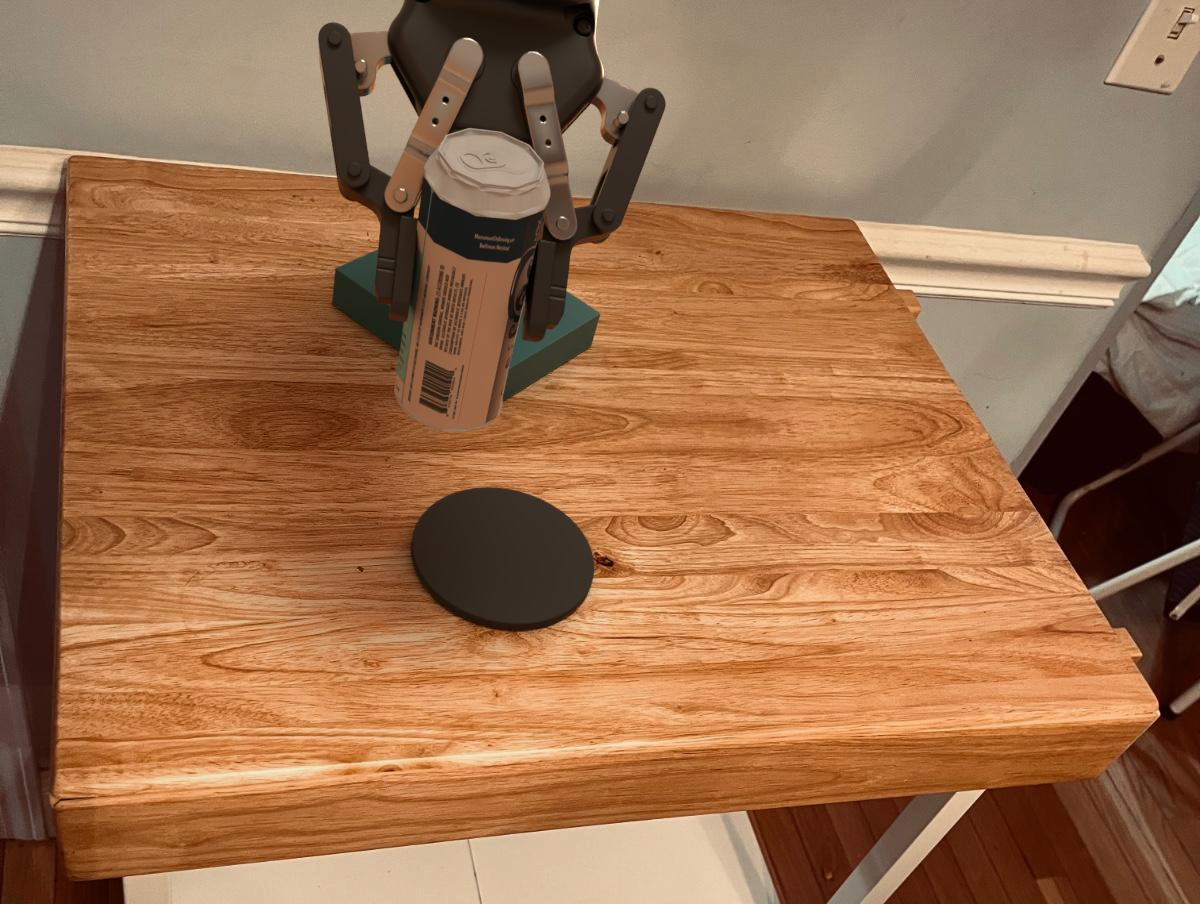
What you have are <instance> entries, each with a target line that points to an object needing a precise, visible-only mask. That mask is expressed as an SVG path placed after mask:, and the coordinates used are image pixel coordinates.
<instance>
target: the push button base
mask: <svg viewBox="0 0 1200 904" xmlns="http://www.w3.org/2000/svg"><path fill="white" fill-rule="evenodd" d="M377 256H378V248H377V249H375V250H373V251H371V252H368V253H367V254H364V255H362V256H360V257H357V258H354V259H353V260H351V261H348V262H346V263H344V264H342V265H339V266H337V267H335V269H334V279H333V289H332V290H333V291H332V299H331V301H332V302H331V304H332V305H333V306H334V307H335V308H337V309H338V310H340V311H341V312H343V313H344V314H345V315H347V316H348V317H350V318H351V319H353V320H354V321H355V322H357V323H358V324H360V325H361V326H363V328H365V329H367V330H368V331H370V332H371V333H372V334H374V335H375V336H377V337H378V338H379V339H381V341H384V342H385V343H386V344H388V345H389V346H391V347H392V348H394V349H395V350H396V351H398V352H399V353H400V346H401V339H402V331H403V324H404V322H402V321H395V320H389V312H390V304H383V303H378V302H377V298H376V294H375V291H374V285H375V275H376V265H377ZM524 303H525V299H524ZM523 312H524V304H523V308H522V312H521V317H520V321H519V326H518V330H517V335H516V339H515V344H514V348H513V352H512V357H511V361H510V366H509V370H508V375H507V379H506V384H505V388H504V392H503V402H505V401H507V400H508V399H509V398H512V397H513V396H514V395H516V394H518V393H519V392H521V391H522V390H525V389H526V388H528V387H529V386H530V385H532V384H533V383H535V382H537V381H538V380H540V379H542V378H543V377H545V376H546V375H548V374H549V373H551V372H552V371H555V370H556V369H558V368H559V367H560V366H563V365H564V364H566V363H567V362H568V361H570V360H572V359H574V358H575V357H576V356H578V355H579V354H581V353H583V352H585V351H586V350H588V349H589V348H591V347H592V345H593V342H594V338H595V335H596V331H597V328H598V324H599V322H600V318H601V312H599V311H598V310H596V309H595V308H593V307H592V306H590V305H589V304H587V303H586V302H584V300H581V299H579V298H578V297H576V296H575V295H574V294H572V293H571V292H569V291H566V298H565V309H564V314H563V316H562V318H561V320H560V322H559V324H558V325H557V326H556V327H555V328H553V329H552V330H550V329H546V333H545V336H544V338H543V339H542V340H541V341H540V342H532V341H525V340H521V331H522V321H523Z"/></svg>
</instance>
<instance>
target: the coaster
mask: <svg viewBox="0 0 1200 904" xmlns="http://www.w3.org/2000/svg"><path fill="white" fill-rule="evenodd" d="M410 555H411V563H412V567H413V569H414V572H415V574H416V576H417V578H418V580H419V582H420V583H421V585H422V586H423V588H424V589H425V591H427V593H428V594H429V595H430V596H431V597H432V598H433V599H434V600H435V601H436V602H437V603H438V604H439V605H441V606H442V607H443V608H445V609H446V610H448V611H449V612H451V613H452V614H454V615H456V616H458V617H460V618H462V619H464V620H466V621H468V622H471V623H473V624H477V625H480V626H482V627H487V628H492V629H495V630H503V631H505V630H506V631H527V630H528V631H529V630H536V629H540V628H545V627H548V626H552V625H554V624H558V622H560V621H562V620H564V619H566V618H568V617H569V616H570V615H572V614H573V613H574V612H575V611H576V610H577V609H579V608H580V607H581V606H582V604H583V602H584V601H585V600H586V599H587V596H588V594H589V592H590V590H591V587H592V585H593V581H594V577H595V566H596V565H595V558H594V553H593V550H592V547H591V545H590V543H589V541H588V539H587V537H586V536H585V534H584V532H583V530H581V528H580V527H579V526H578V525H577V523H575V521H574V520H572V518H571V517H570V516H569V515H567V513H565V512H563V511H562V510H561V509H559V508H557V507H556V506H555V505H553V504H552V503H549V502H548V501H546V500H544V499H542V498H541V497H540V498H539V497H537V496H535V495H532V494H530V493H527V492H523V491H521V490H520V491H519V490H515V489H512V488H511V489H510V488H503V487H492V486H490V487H488V486H484V487H474V488H473V487H472V488H467V489H463V490H459V491H456V492H452V493H450V494H447V495H446V496H443V497H442V498H439V499H438V500H436V501H435V502H434V503H432V504H431V505H430V506H429V507H428V508H427V509H426V510H425V511H424V512H423V513H422V514H421V516H420V517H419V519H418V520H417V522H416V524H415V527H414V529H413V533H412V538H411V545H410Z"/></svg>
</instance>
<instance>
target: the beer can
mask: <svg viewBox="0 0 1200 904" xmlns="http://www.w3.org/2000/svg"><path fill="white" fill-rule="evenodd" d="M549 198H550V187H549V183H548V179H547V176H546V172H545V169H544V162H543V161H542V160H541V158H540V157H539V156H538V155H537V154H536V152H535V151H534V150H533V149H532V148H531V146H530V145H528V144H526V143H524V142H522V141H520V140H518V139H515V138H513V137H511V136H509V135H507V134H505V133H502V132H498V131H490V130H481V129H473V128H468V129H464V130H461V131H458V132H454V133H451V134H448V135H445V138H444V140H443V141H442V142H441V143H440V145H439V146H438V148H437V149H436V150H435V151H434V153H433V154H432V155H431V156H430V157H429V158H428V160H427V162H426V164H425V166H424V178H423V186H422V193H421V199H420V201H419V208H418V214H417V215H418V216H417V218H418V222H417V241H416V250H415V260H414V269H413V279H412V288H411V298H410V307H409V314H408V319H407V321H406V322H404V324H403V331H402V339H401V346H400V352H399V355H398V360H397V367H396V375H395V376H396V377H395V382H394V390H393V391H394V396H395V399H396V401H397V403H398V405H399V406H400V408H401V409H402V410H403V411H404V412H405V413H406V414H407V415H408V417H410V418H411V419H413V420H414V421H417V422H419V423H421V424H422V425H424V426H426V427H428V428H431V429H434V430H436V431H442V432H450V433H457V434H458V433H471V432H474V431H477V430H480V429H484V428H486V427H487V426H489V425H490V424H492V423H494V422H495V421H496V420H497V418H498V417H499V415H500V414H501V411H502V409H503V405H504V401H503V392H504V388H505V384H506V379H507V375H508V370H509V366H510V361H511V357H512V352H513V348H514V344H515V339H516V335H517V330H518V326H519V321H520V317H521V312H522V308H523V304H524V299H525V294H526V290H527V286H528V281H529V277H530V272H531V268H532V263H533V259H534V254H535V250H536V246H537V241H538V237H539V233H540V228H541V224H542V219H543V215H544V210H545V207H546V205H547V203H548V201H549Z"/></svg>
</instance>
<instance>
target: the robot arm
mask: <svg viewBox="0 0 1200 904" xmlns="http://www.w3.org/2000/svg"><path fill="white" fill-rule="evenodd" d="M599 4H600V0H403V4H402V6H401V8H400V10H399V12H398V13H397V15H396V16H395V18H394V19H393V20H392V21H391V23H390V25H389V28H388V30H384V31H364V32H350V31H349V30H348V29H347V28H346V26H345V25H343V24H341V23H339V22H334V21H333V22H332V21H331V22H328V23H325V24H324V25H322V27H321V28H320V29H319V32H318V36H317V37H318V38H317V40H318V59H319V60H318V62H319V68H320V69H319V70H320V75H321V76H320V77H321V82H322V88H323V95H324V101H325V108H326V114H327V115H326V116H327V120H328V121H327V122H328V127H329V128H328V129H329V134H330V141H331V147H332V152H333V153H332V154H333V161H334V167H335V174H336V180H337V181H336V182H337V187H338V191H339V194H340V195H341V196H342V197H343V198H344V199H345V200H347V201H348V202H353V203H358V204H359V205H361V206H363V207H365V208H366V209H369V210H370V211H371V212H373V213H374V215H375V216H376V217H377V220H378V222H379V236H378V247H377V249H378V256H377V265H376V275H375V285H374V291H375V294H376V298H377V302H378V303H383V304H390V312H389V320H395V321H402V322H406V321H407V319H408V314H409V307H410V298H411V288H412V279H413V269H414V260H415V250H416V241H417V222H418V217H415V211H416V209H417V207H418V205H419V204H420V200H421V193H422V186H423V178H424V166H425V164H426V162H427V160H428V158H429V157H430V156H431V155H432V154H433V153H434V151H435V150H436V149H437V148H438V146H439V145H440V143H441V142H442V141H443V140H444V138H445V135H448V134H451V133H454V132H458V131H461V130H464V129H468V128H473V129H481V130H490V131H498V132H502V133H505V134H507V135H509V136H511V137H513V138H515V139H518V140H520V141H522V142H524V143H526V144H528V145H530V146H531V148H532V149H533V150H534V151H535V152H536V154H537V155H538V156H539V157H540V158H541V160H542V161H543V162H544V169H545V172H546V176H547V179H548V183H549V187H550V198H549V201H548V203H547V205H546V207H545V210H544V215H543V219H542V224H541V228H540V233H539V237H538V241H537V246H536V250H535V254H534V259H533V263H532V268H531V272H530V277H529V281H528V286H527V290H526V294H525V303H524V312H523V321H522V331H521V340H525V341H532V342H540V341H541V340H542V339H543V338H544V336H545V333H546V329H550V330H552V329H553V328H555V327H556V326H557V325H558V324H559V322H560V320H561V318H562V316H563V314H564V309H565V298H566V291H567V288H568V283H569V282H568V281H569V271H570V266H571V265H570V263H571V257H572V255H571V254H572V251H573V248H574V247H576V246H580V245H586V244H590V243H591V244H594V245H599V244H602V243H604V242H605V241H606V240H607V239H608V238H609V237H610V236H611V234H613V233H614V232H616V230H618V229H619V228H620V227H621V226H622V223H623V220H624V218H625V216H626V213H627V210H628V207H629V205H630V203H631V199H632V197H633V195H634V192H635V189H636V187H637V184H638V181H639V178H640V176H641V173H642V171H643V168H644V165H645V163H646V160H647V158H648V155H649V153H650V150H651V147H652V144H653V142H654V139H655V137H656V134H657V131H658V129H659V126H660V123H661V120H662V118H663V115H664V112H665V110H666V105H667V104H666V99H665V96H664V94H663V93H662V92H661V91H660V90H659V89H657V88H655V87H645V88H643V89H642V90H641V91H637V90H635V89H633V88H631V87H629V86H628V85H625V84H623V83H621V82H619V81H617V80H615V79H613V78H610V77H609V76H607V75H605V73H604V72H605V71H604V66H603V63H602V60H601V58H600V55H599V51H598V48H597V41H596V33H597V21H598V12H599V6H600V5H599ZM387 65H390V67H391V68H392V70H393V73H394V74H395V76H396V78H397V80H398V82H399V84H400V86H401V87H402V90H403V91H404V93H405V95H406V97H407V98H408V100H409V102H410V104H411V106H412V108H413V109H414V111H415V114H416V115H417V117H418V118H417V119H416V122H415V124H414V127H413V128H412V130H411V133H410V135H409V137H408V140H407V142H406V145H405V147H404V149H403V151H402V153H401V156H400V158H399V160H398V162H397V164H396V166H395V168H394V170H393V172H392V174H391V175H389V174H388V173H386V172H384V171H383V170H381V169H379V168H377V167H376V166H373V165H372V164H371V163H370V156H369V149H368V144H367V136H366V135H367V134H366V129H365V122H364V117H363V110H362V101H361V98H362V97H367V96H369V95H370V94H371V93H373V91H374V90H375V87H376V83H377V74H378V72H379V70H380V69H381V68H382V67H384V66H387ZM590 105H593V106H594V107H595V108H596V109H597V110H598V111H599V114H600V118H601V121H600V127H599V131H600V135H601V137H602V139H603V140H604V141H605V142H606V143H607V144H609V145H611V146H610V149H609V152H608V153H607V156H606V159H605V162H604V164H603V165H604V166H603V167H602V170H601V173H600V175H599V178H598V180H597V183H596V186H595V189H594V191H593V194H592V196H591V198H590V202H589V204H588V205H582V206H578V207H575V205H574V200H573V195H572V190H571V185H570V180H569V162H568V156H567V152H566V147H565V141H564V137H563V134H564V133H565V132H567V130H569V128H570V127H571V126H572V125H573V124H574V123H575V122H576V121H577V119H578V118H580V116H581V115H582V114H583V113H584V112H585V111H586V110H587V109H588V108H589V107H590ZM567 292H568V291H567Z"/></svg>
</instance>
